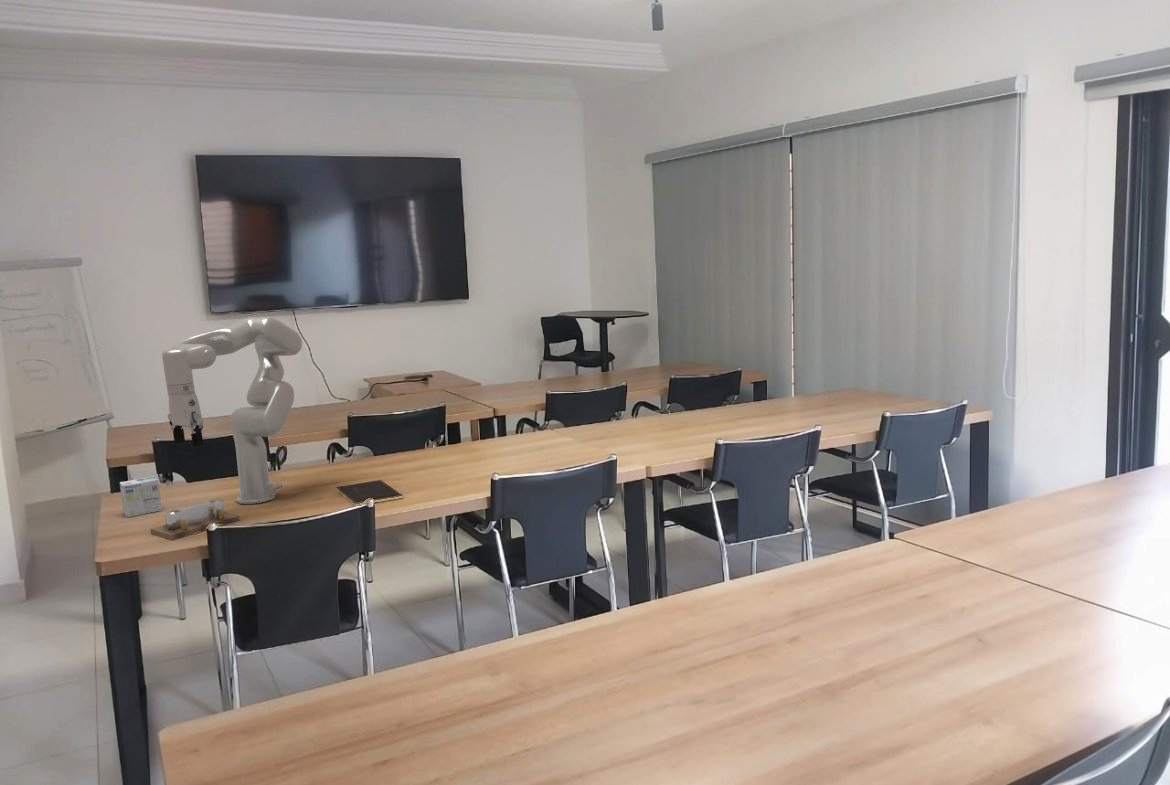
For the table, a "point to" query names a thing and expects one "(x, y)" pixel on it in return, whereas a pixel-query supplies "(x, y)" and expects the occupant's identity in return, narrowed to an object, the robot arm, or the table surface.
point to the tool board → (193, 526)
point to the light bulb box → (140, 496)
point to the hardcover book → (368, 491)
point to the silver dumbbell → (194, 514)
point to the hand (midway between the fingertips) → (188, 443)
